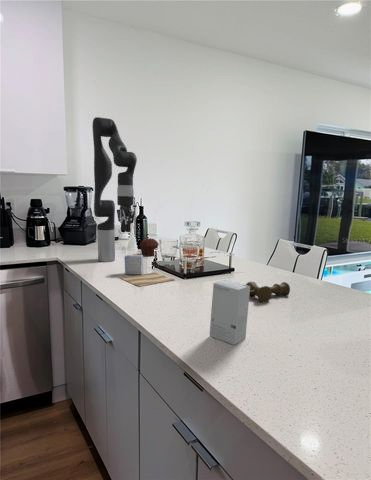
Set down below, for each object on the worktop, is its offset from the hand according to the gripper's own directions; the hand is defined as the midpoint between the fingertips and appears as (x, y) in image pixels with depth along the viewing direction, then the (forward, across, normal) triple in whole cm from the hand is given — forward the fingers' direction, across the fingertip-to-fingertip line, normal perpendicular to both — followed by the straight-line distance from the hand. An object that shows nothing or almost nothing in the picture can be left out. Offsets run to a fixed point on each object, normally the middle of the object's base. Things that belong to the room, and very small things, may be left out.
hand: (125, 231), depth 157 cm
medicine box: (+19, +8, 0) cm, 21 cm away
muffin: (+20, -28, +31) cm, 46 cm away
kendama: (+20, +66, +22) cm, 72 cm away
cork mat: (+19, +20, 0) cm, 27 cm away
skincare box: (+19, +82, -14) cm, 85 cm away
